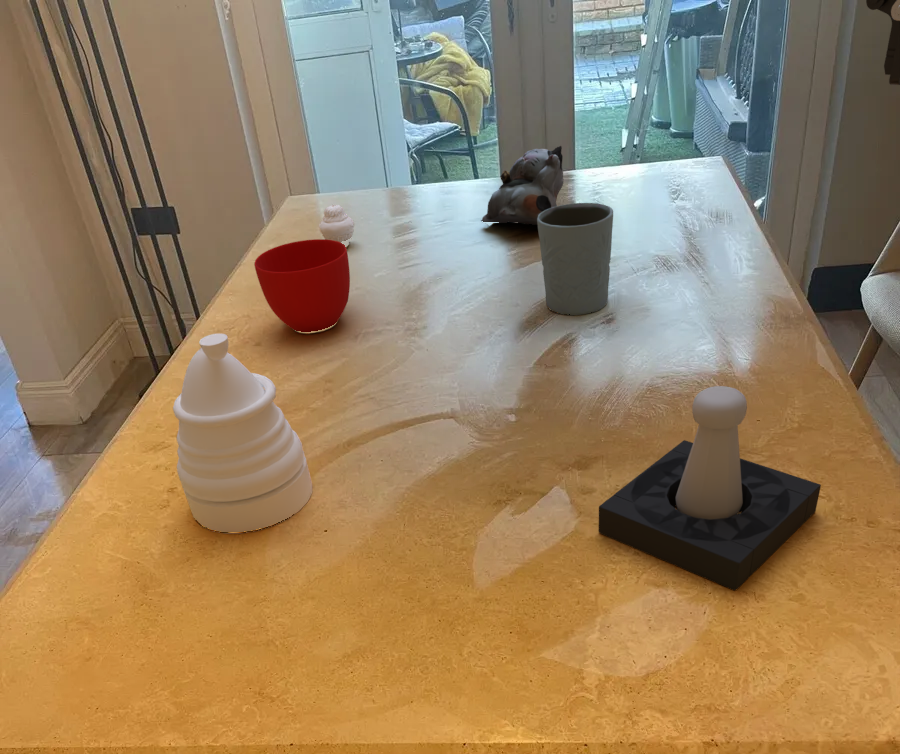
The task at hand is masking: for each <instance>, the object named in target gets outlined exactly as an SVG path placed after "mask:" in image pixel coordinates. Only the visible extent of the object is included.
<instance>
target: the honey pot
mask: <svg viewBox="0 0 900 754" xmlns="http://www.w3.org/2000/svg"><path fill="white" fill-rule="evenodd" d="M198 343H199V346H200V347H199V349H198V350H197V351H196V352H195V353H194V354H193V356H192V357H191V359H190V361H189V363H188V365H187V368H186V371H185V375H184V378H183V382H182V388H181V393H180V394H178V396H177V397H176V399H174V403H173V407H172V411H173V414H174V417H175V418H176V419H177V420H178V430H177V434H176V442H177V446H178V447H177V450H176V452H177V456H178V460H177V464H176V472H177V476H178V479H179V481H180V484H181V487H182V490H183V493H184V496H185V497H186V501H187V504H188V506H189V509H190V511H191V515H192V517H193V519H194V518H195V519H196V520H197V521H198V522H199V523H200V524H201V525H203V526H205V527H207V528H209V529H211V530H216V531H221V532H244V531H251V530H256V529H259V528H264V527H268V526H271V525H273V524H276V523H278V522H280V523H282V522H283V521H282V520H284V521H286V520H285V519H287V518H288V519H290V518H292V517H293V516H294V515H296V514H297V513H298V512H300V511H301V510H302V509H303V508H304V507H305V506H306V504H307V503H308V502H309V500H310V498H311V496H312V494H313V481H312V476H311V474H310V473H311V472H310V469H309V465H308V460H307V457H306V456H305V451H304V448H303V443H302V441H301V439H300V437H299V435H298V434H297V432H296V431H295V430H294V429H293V428H292V427H291V424H290V423H289V421H288V419H287V418H286V416H285V414H284V412H283V410H282V408H280V407H279V406H278V405H277V404H276V403H275V402H274V400H275V398H276V396H277V387H276V385H275V383H274V382H273V380H271V379H270V378H268V376H267V377H266V375H263V374H259V373H256V372H251V371H250V370H249V369H248V368H247V367H246V366H245V365H244V364H243V363H242V362H241V361H240V360H239V359H237V358H236V357H235V356H234V355H233V354H231V353H229V346H230V345H229V337H228V335H227V334H226V333H221V332H220V333H212V334H208V335H205V336H204V337H202V338H200V340H199V342H198ZM293 514H294V515H293ZM292 515H293V516H292ZM289 517H290V518H289ZM195 519H194V520H195ZM288 519H287V520H288ZM281 521H282V522H281ZM278 524H279V523H278ZM276 525H277V524H276ZM271 527H272V526H271ZM268 528H269V527H268Z"/></svg>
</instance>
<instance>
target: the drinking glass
mask: <svg viewBox="0 0 900 754" xmlns="http://www.w3.org/2000/svg"><path fill="white" fill-rule="evenodd" d="M537 224H538V225H537V231H538V239H539V247H540V257H541V264H542V265H541V266H542V274H543V275H542V276H543V282H544V290H545V292H544V293H545V304H546V307H547V306H548V307H549V308H550V309H551V310H553V311H555V312H558V313H557V314H559V313H561V314H560V315H564V314H567V315H566V316H582V315H588V314H591V312H592V313H595V312H597V311H600V310H601V309H603V308H604V307H606V305H607V303H608V299H609V286H610V285H609V283H610V273H611V268H610V267H611V266H610V263H611V255H612V243H613V242H612V241H613V226H614V225H613V224H614V209H613V208H612V207H610V206H609V205H606V204H603V203H602V204H601V203H595V202H575V203H567V204H566V203H565V204H560V205H557V206H556V207H553V208H550V209H547V210H545V211H543V212H541V213H540V214H539V215H538V218H537ZM548 307H547V308H548ZM550 309H549V310H550ZM553 311H552V312H553ZM555 312H554V313H555ZM569 314H570V315H569Z"/></svg>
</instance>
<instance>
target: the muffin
mask: <svg viewBox="0 0 900 754" xmlns="http://www.w3.org/2000/svg"><path fill="white" fill-rule="evenodd" d="M318 228H319V232H320V233H321V234H322V237H323V238H324V239H326V240H334V241H338V242H342V241H346V240H348V239H350V238H351V237H352V238H353V235H354V228H355V222H354V220H353V218H352V217H350V216H349V215H348V214H347V212H345V208H344V207H343V206H341V205H339V204H332V205H329V206H327V207H326V208H325V209H324V211H323V217H322V220H321V221H320V222H319V225H318ZM352 238H351V239H352Z"/></svg>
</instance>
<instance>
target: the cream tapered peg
mask: <svg viewBox="0 0 900 754" xmlns="http://www.w3.org/2000/svg"><path fill="white" fill-rule="evenodd" d="M691 405H692V407H691V408H692V409H691V410H692V411H691V412H692V417H693V420H694V422H695V423H696V424H697V425H698V427H697V430H696V433H695V436H694V439H693V442H692V443H693V445H692V448H691V451H690V454H689V458H688V461H687V464H686V467H685V470H684V473H683V476H682V479H681V482H680V485H679V488H678V491H677V494H676V497H675V498H676V505H677V506H676V509H677V510H678V511H679V512H681V513H684V514H687V515H689V516H692V517H695V518H702V519H710V520H712V519H722V518H729V517H732V516H734V515H737V514H740V509H741V507H742V504H743V499H742V484H741V468H740V458H741V456H740V440H739V439H740V438H739V425H741V424H742V422H743V421H744V419H745V417H746V415H747V410H748V401H747V398H746V396H745V394H743V392H742V391H740V390H738V389H737V388H735V387H731V386H726V385H725V386H724V385H715V386H709V387H707V388H705V389H702V390H701V391H698V392H697V394H696V395H695V397H694V399H693V402H692V404H691Z"/></svg>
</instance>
